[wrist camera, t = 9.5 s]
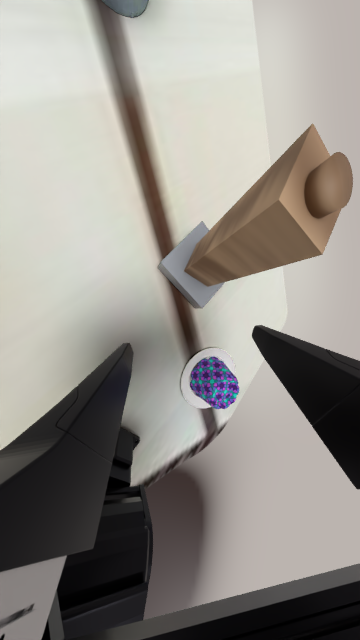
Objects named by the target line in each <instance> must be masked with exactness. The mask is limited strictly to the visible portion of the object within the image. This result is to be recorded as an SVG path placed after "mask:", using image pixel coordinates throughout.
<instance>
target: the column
mask: <svg viewBox="0 0 360 640" xmlns="http://www.w3.org/2000/svg"><path fill="white" fill-rule="evenodd" d="M352 185H353V177H352V170H351V166H350V163H349V161H348V159H347V157H346V156H345V155H344V154H343V153H341V152H336V153H334V154H333V155H332V156H330V155H329V153H328V151H327V149H326V147H325V145H324V143H323V142H322V140H321V138H320V136H319V134H318V132H317V130H316V128H315V126H314V125H313V124H312V125H311V126H310V127H309V128H308V129H307V130H306V131H305V132H304V133H303V134H302V135H301V136H300V137H299V138H298V139H297V140H296V141H295V142H294V144H292V145H291V146H290V147H289V148H288V150H287V151H286V152H285V153H284V154H283V155H282V156H281V157H280V158H279V159H278V160H277V161H276V162H275V163H274V164H273V165H272V166H271V167H270V168H269V169H268V170H267V171H266V172H265V173H264V175H263V176H262V177H261V178H260V179H259V180H258V181H257V182H256V183H255V184H254V185H253V186H252V187H251V188H250V189H249V190H248V191H247V192H246V193H245V194H244V195H243V196H242V197H241V198H240V199H239V201H238V202H237V203H236V204H235V205H234V206H233V207H232V208H231V209H230V210H229V211H228V212H227V213H226V214H225V215H224V216H223V217H222V218H221V219H220V220H219V221H218V222H217V223H216V224H215V225H214V227H213V228H212V229H211V230H210V231H209V232H208V233H207V234H206V235H205V236H204V237H203V238H202V239H201V240H200V241H199V242H198V243H197V244H196V246H195V249H194V251H193V253H192V255H191V257H190V259H189V261H188V263H187V265H186V267H185V270H184V272H186V273H187V274H189V275H190V276H192V277H193V278H195V279H196V280H198V281H200V282H201V283H203V284H204V285H206V286H207V287H209V286H213V285H216V284H220V283H223V282H227V281H230V280H234V279H237V278H241V277H244V276H248V275H251V274H255V273H259V272H262V271H266V270H269V269H273V268H276V267H280V266H283V265H287V264H290V263H294V262H297V261H301V260H304V259H308V258H312V257H315V256H319V255H322V254H323V252H324V250H325V247H326V245H327V242H328V240H329V237H330V235H331V233H332V230H333V228H334V225H335V223H336V220H337V218H338V216H339V213H340V211H341V208H343V207H344V206H346V205H347V203H348V202H349V199H350V197H351V193H352V187H353V186H352Z"/></svg>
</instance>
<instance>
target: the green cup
mask: <svg viewBox="0 0 360 640" xmlns="http://www.w3.org/2000/svg"><path fill="white" fill-rule="evenodd" d="M102 1H103V2H104V3H105V4H106V5H107V6H109V7H110V8H111V9H113V10H114V11H115V12H117V13H119V14H121V15H124V16H127V17H129V16H130V17H131V18H133V17H134V16H138V15H141V13H142V12H143V11H144V10H145V8H146V5H147V3H148V0H102Z"/></svg>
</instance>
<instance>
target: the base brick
mask: <svg viewBox="0 0 360 640" xmlns="http://www.w3.org/2000/svg"><path fill="white" fill-rule="evenodd" d="M208 232H209V230H208V228H207V227H206V225H205V224H204V223H203V221H202V222H201V223H200V224H199V225H198V226H197V227H196V228H195V229H194V230H193V231H192V232H191V233H190V234H189V235H188V236H187V237H186V238H184V239H183V240H182V241H181V242H180V243H179V244H178V245H177V246H176V247H175V248H174V249H173V250H172V251H171V252H170V253H169V254H168V255H167V256H166V257H165V258H164V259H163V260H162V261H161V262H160V264H159V266H158V269H159V270H160V271H161V272H162V273H163V274H164V275H165V276H166V277H167V278H168V279H169V280H170V281H171V283H172V284H173V285H174V286H175V287H176V288H177V289H178V290H179V291H180V292H181V293H182V294H183V295H184V296H185V298H186V299H187V300H188V301H189V302H190V303H191V304H192V305H193V306H194V307H195V308H203V307H204V306H205V305H206V304H207V302H208V301H209V300H210V299H211V298H212V297H213V295H214V294H215V293H216V292H217V291H218V290H219V288H220V287H221V286H222V285H223V284H224V283H225V282H223V283H220V284H216V285H213V286H209V287H207V286H206V285H204V284H203V283H201V282H200V281H198V280H196V279H195V278H193V277H192V276H190V275H189V274H187V273H186V272H184V270H185V267H186V265H187V263H188V261H189V259H190V257H191V255H192V253H193V251H194V249H195V246H196V244H197V243H198V242H199V241H200V240H201V239H202V238H203V237H204V236H205V235H206V234H207V233H208Z"/></svg>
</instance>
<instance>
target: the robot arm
mask: <svg viewBox="0 0 360 640" xmlns="http://www.w3.org/2000/svg"><path fill="white" fill-rule="evenodd" d="M252 338H253V340H254V341H255V343H256V345H257V347H258V349H259V350H260V352H261V354H262V355H263V357H264V358H265V360H266V361H267V363H268V364H269V365H270V367H271V368H272V370H273V371H274V373H275V374H276V375H277V377H278V378H279V380H280V381H281V383H282V384H283V385H284V387H285V388H286V390H287V391H288V393H289V394H290V395H291V397H292V398H293V400H294V401H295V402H296V404H297V405H298V407H299V408H300V410H301V411H302V412H303V414H304V415H305V417H306V418H307V419H308V421H309V422H310V424H311V425H312V427H313V428H314V430H315V431H316V432H317V434H318V435H319V437H320V438H321V440H322V441H323V442H324V444H325V445H326V446H327V448H328V449H329V451H330V452H331V454H332V455H333V457H334V458H335V459H336V461H337V462H338V464H339V465H340V467H341V468H342V469H343V471H344V472H345V474H346V475H347V477H348V478H349V479H350V481H351V482H352V483H353V485H354V486H355V487H356V488H357V489H360V361H358V360H355V359H352V358H349V357H347V356H344V355H341V354H338V353H335V352H333V351H330V350H327V349H324V348H321V347H319V346H316V345H313V344H311V343H308V342H306V341H303V340H300V339H297V338H295V337H292V336H289V335H287V334H284V333H281V332H278V331H276V330H273V329H270V328H268V327H265V326H262V325H257V326H255V327H254V329H253V333H252ZM132 362H133V350H132V347H131V345H130V343H123V344H122V345H121V346H120V347H119V348H118V349H117V350H115V351H114V352H113V353H112V354H111V355H110V356H109V357H108V358H107V359H106V360H105V361H104V362H103V363H101V364H100V365H99V366H98V367H97V368H96V369H95V370H94V371H93V372H92V373H91V374H90V375H89V376H87V377H86V378H85V379H84V380H83V381H82V382H81V383H80V384H79V385H78V386H77V387H76V388H74V389H73V390H72V391H71V392H70V393H69V394H68V395H67V396H66V397H65V398H63V399H62V400H61V401H60V402H59V403H58V404H57V405H55V406H54V407H53V408H52V409H51V410H50V411H48V412H47V413H46V414H45V415H44V416H42V417H41V418H40V419H39V420H38V421H36V422H35V423H34V424H33V425H32V426H30V427H29V428H28V429H27V430H26V431H24V432H23V433H22V434H21V435H20V436H18V437H17V438H16V439H15V440H14V441H12V442H11V443H10V444H9V445H7V446H6V447H5V448H3V449H2V450H1V451H0V640H360V564H356V565H352V566H349V567H344V568H341V569H337V570H333V571H329V572H326V573H321V574H318V575H314V576H310V577H306V578H303V579H299V580H295V581H291V582H287V583H283V584H279V585H276V586H272V587H268V588H264V589H261V590H257V591H253V592H249V593H245V594H242V595H237V596H234V597H230V598H226V599H222V600H219V601H215V602H211V603H207V604H203V605H199V606H195V607H192V608H188V609H184V610H180V611H176V612H173V613H169V614H165V615H161V616H157V617H154V618H150V619H146V620H143V617H144V609H145V604H146V598H147V592H148V584H149V579H150V573H151V566H152V554H153V553H152V552H153V532H152V523H151V517H150V513H149V508H148V503H147V498H146V494H145V489H144V485H143V484H142V485H139V486H130V484H131V465H132V460H133V450H134V448H135V447H136V446H137V445H138V443H139V441H140V438H139V437H138V436H136V435H134V434H132V433H130V432H128V431H126V430H124V429H122V428H120V424H121V420H122V415H123V410H124V406H125V401H126V397H127V392H128V387H129V383H130V378H131V372H132ZM136 440H137V441H136ZM129 486H130V487H129Z"/></svg>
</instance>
